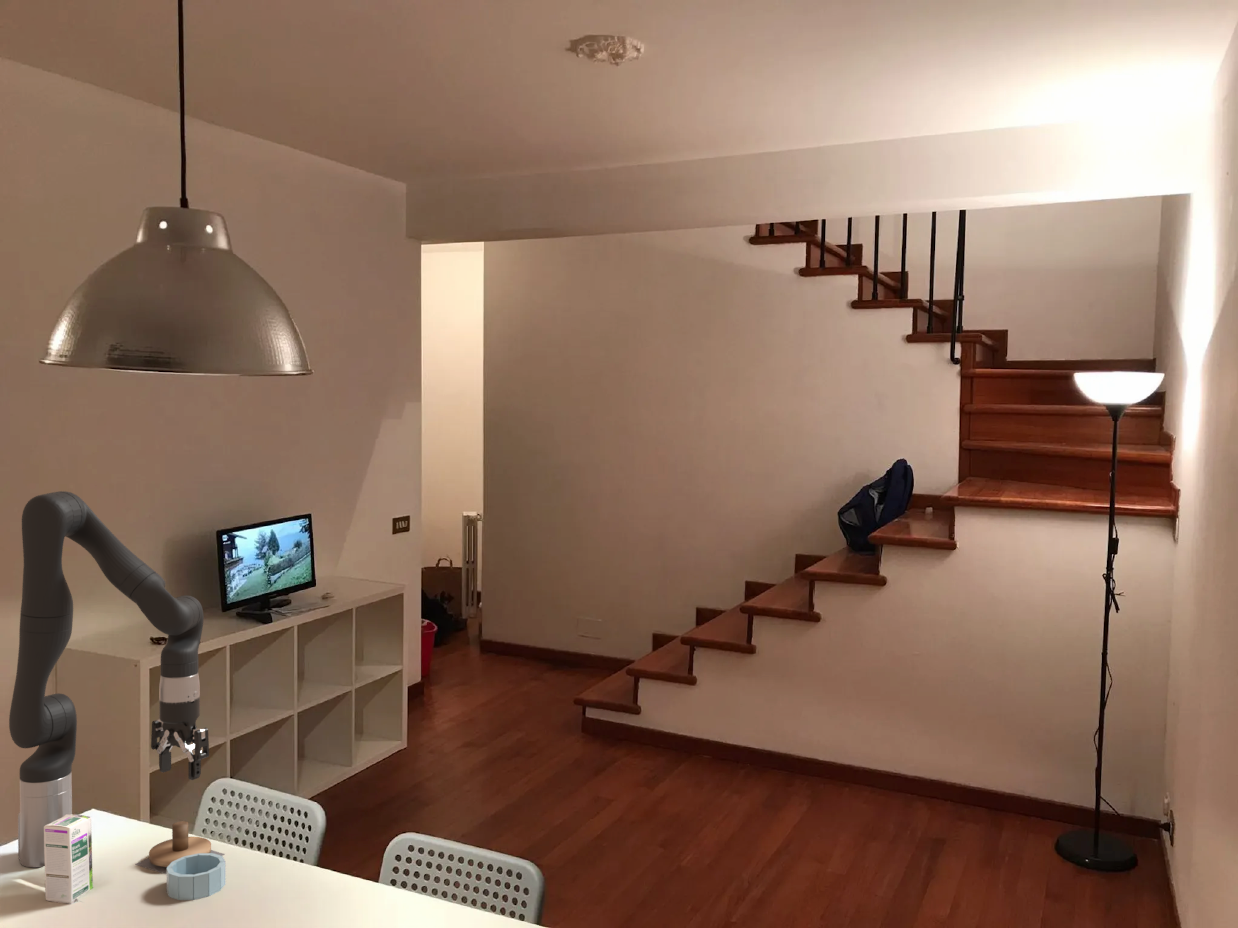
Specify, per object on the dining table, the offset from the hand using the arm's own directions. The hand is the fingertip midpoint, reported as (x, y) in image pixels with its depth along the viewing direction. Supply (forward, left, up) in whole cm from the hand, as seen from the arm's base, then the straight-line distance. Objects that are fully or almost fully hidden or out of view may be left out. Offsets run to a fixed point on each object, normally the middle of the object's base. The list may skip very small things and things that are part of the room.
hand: (179, 774), depth 203 cm
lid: (0, 0, -17) cm, 17 cm away
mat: (0, 0, -18) cm, 18 cm away
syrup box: (-6, -20, -18) cm, 28 cm away
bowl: (+13, -7, -18) cm, 23 cm away
